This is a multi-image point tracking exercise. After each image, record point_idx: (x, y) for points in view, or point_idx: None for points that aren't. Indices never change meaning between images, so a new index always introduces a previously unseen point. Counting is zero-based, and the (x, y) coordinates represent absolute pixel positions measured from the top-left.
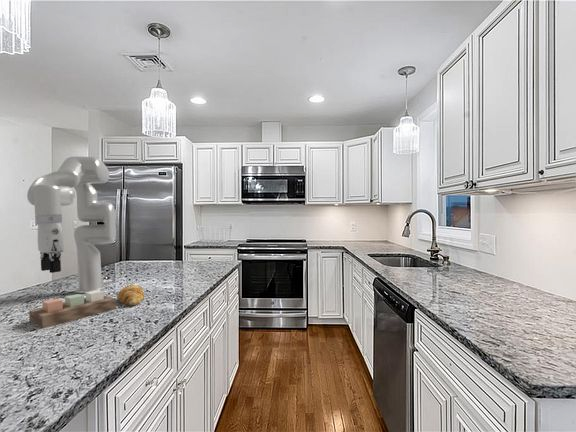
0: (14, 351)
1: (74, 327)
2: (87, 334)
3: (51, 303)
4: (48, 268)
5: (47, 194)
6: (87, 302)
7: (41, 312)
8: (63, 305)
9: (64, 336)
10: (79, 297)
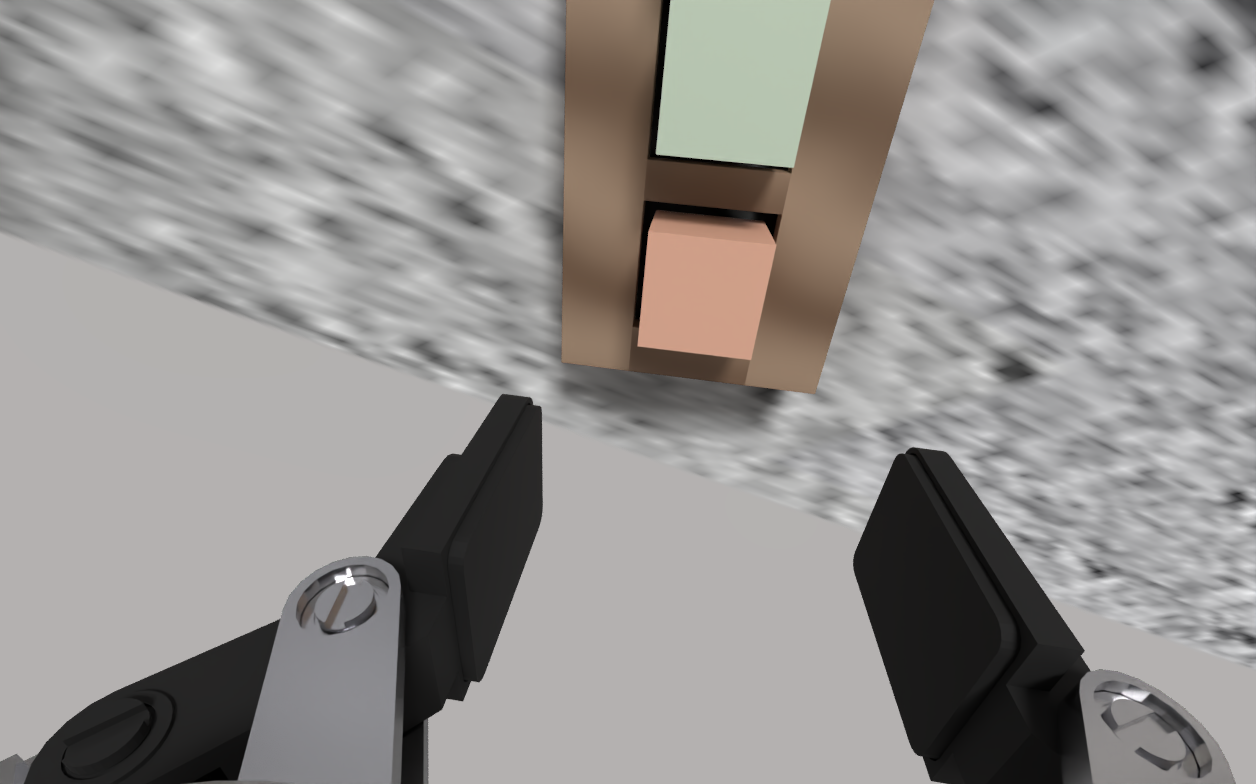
0: None
1: (1008, 261)
2: (1239, 299)
3: (757, 330)
4: (533, 460)
5: None
6: None
7: None
8: (665, 166)
9: (1082, 374)
10: (815, 58)
